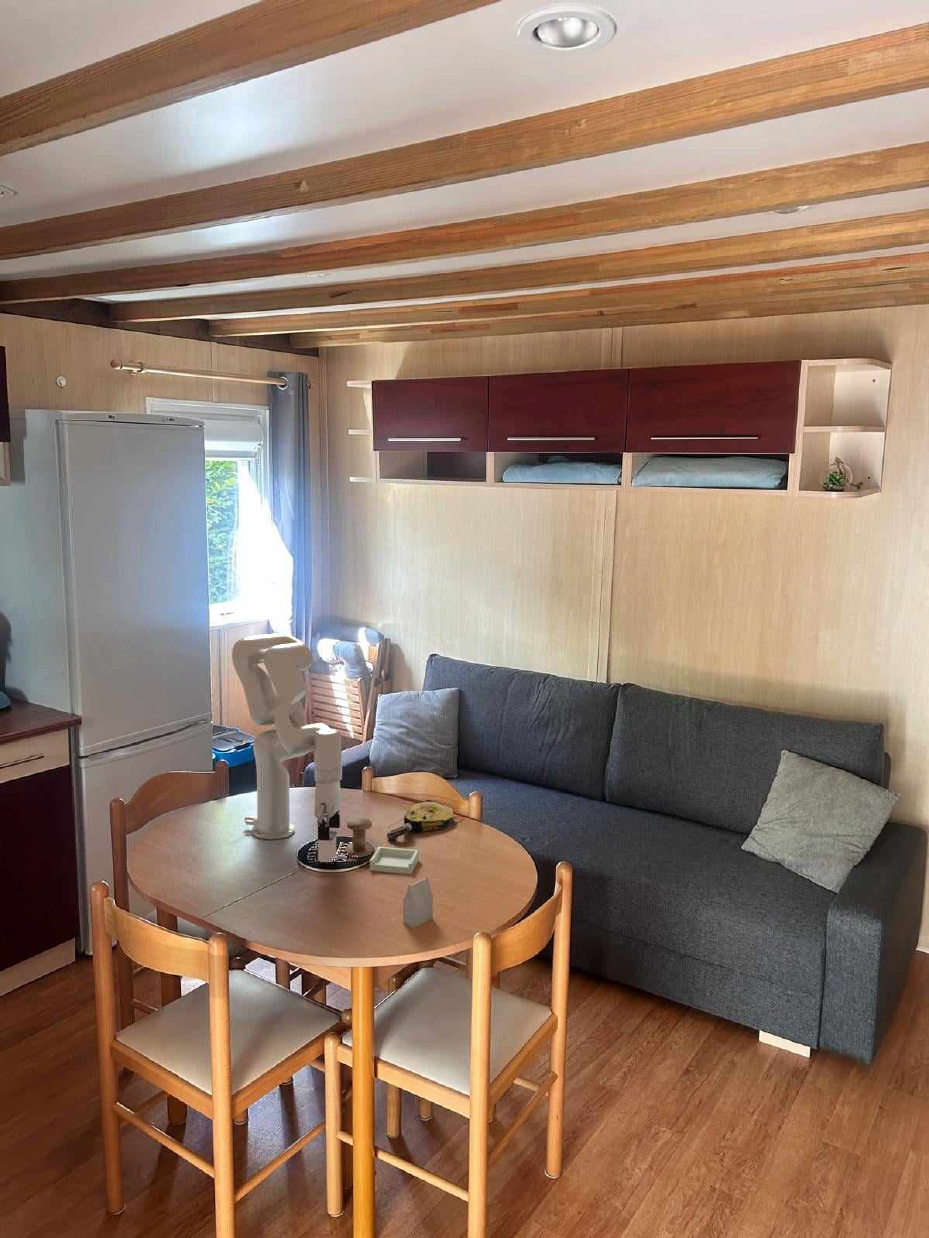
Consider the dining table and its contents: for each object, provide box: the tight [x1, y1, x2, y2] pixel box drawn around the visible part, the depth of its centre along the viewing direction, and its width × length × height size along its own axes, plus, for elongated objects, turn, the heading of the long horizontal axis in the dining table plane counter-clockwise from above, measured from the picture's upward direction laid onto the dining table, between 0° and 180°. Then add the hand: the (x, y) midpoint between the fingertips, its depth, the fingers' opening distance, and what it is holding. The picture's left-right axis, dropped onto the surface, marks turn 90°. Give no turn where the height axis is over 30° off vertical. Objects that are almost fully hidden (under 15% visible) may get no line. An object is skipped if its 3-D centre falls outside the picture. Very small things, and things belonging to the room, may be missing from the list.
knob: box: [344, 817, 374, 856], centre depth 271 cm, size 8×8×9 cm
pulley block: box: [386, 799, 463, 840], centre depth 291 cm, size 14×6×30 cm
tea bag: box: [402, 877, 434, 928], centre depth 231 cm, size 4×7×10 cm, turn 140°
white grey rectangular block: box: [317, 830, 338, 862], centre depth 264 cm, size 4×4×8 cm
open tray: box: [369, 846, 420, 875], centre depth 263 cm, size 12×10×3 cm
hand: (329, 833), depth 263 cm, fingers open, 9 cm apart
